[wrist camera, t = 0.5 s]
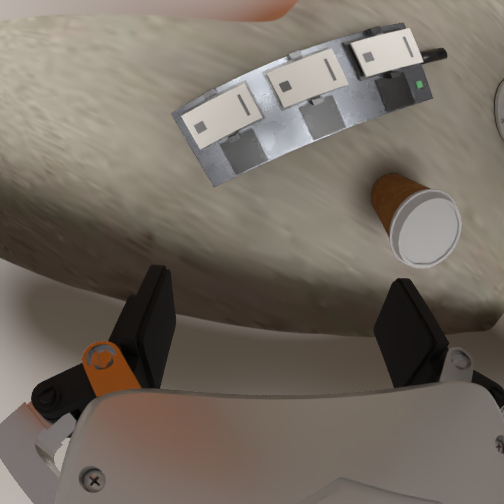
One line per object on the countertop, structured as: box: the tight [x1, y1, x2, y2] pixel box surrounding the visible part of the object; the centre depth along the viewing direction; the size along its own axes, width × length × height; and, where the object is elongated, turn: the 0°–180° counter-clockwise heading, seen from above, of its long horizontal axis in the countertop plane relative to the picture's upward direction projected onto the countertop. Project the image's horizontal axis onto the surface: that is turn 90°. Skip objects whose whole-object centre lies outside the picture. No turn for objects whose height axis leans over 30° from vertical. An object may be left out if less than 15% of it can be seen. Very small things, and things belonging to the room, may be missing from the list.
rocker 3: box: [350, 28, 423, 77], centre depth 23 cm, size 7×4×1 cm, turn 117°
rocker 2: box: [267, 48, 348, 108], centre depth 25 cm, size 7×4×1 cm, turn 117°
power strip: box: [171, 23, 447, 187], centre depth 28 cm, size 35×10×6 cm, turn 116°
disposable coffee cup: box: [371, 174, 462, 269], centre depth 33 cm, size 10×10×12 cm
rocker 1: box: [181, 84, 262, 150], centre depth 27 cm, size 7×4×1 cm, turn 116°
